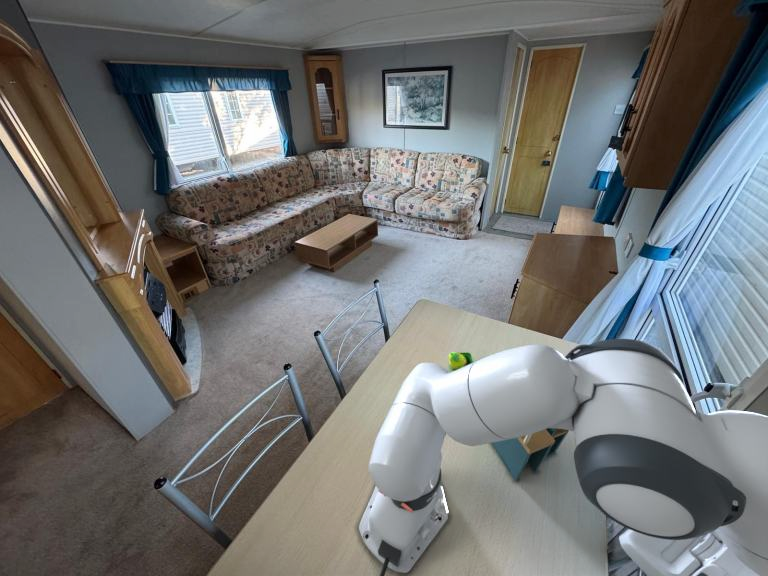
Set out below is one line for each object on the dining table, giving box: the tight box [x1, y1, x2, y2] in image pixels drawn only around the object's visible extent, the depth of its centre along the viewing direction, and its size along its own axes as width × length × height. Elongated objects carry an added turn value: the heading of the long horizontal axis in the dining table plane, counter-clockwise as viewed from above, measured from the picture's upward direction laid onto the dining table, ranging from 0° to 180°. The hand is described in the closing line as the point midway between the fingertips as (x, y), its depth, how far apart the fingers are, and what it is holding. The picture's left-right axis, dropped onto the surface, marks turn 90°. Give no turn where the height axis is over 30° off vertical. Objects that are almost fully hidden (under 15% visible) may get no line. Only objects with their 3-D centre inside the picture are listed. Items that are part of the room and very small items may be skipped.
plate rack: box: [491, 428, 570, 482], centre depth 76 cm, size 12×15×26 cm
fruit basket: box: [448, 351, 474, 372], centre depth 101 cm, size 11×9×11 cm
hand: (630, 479), depth 58 cm, fingers open, 8 cm apart
